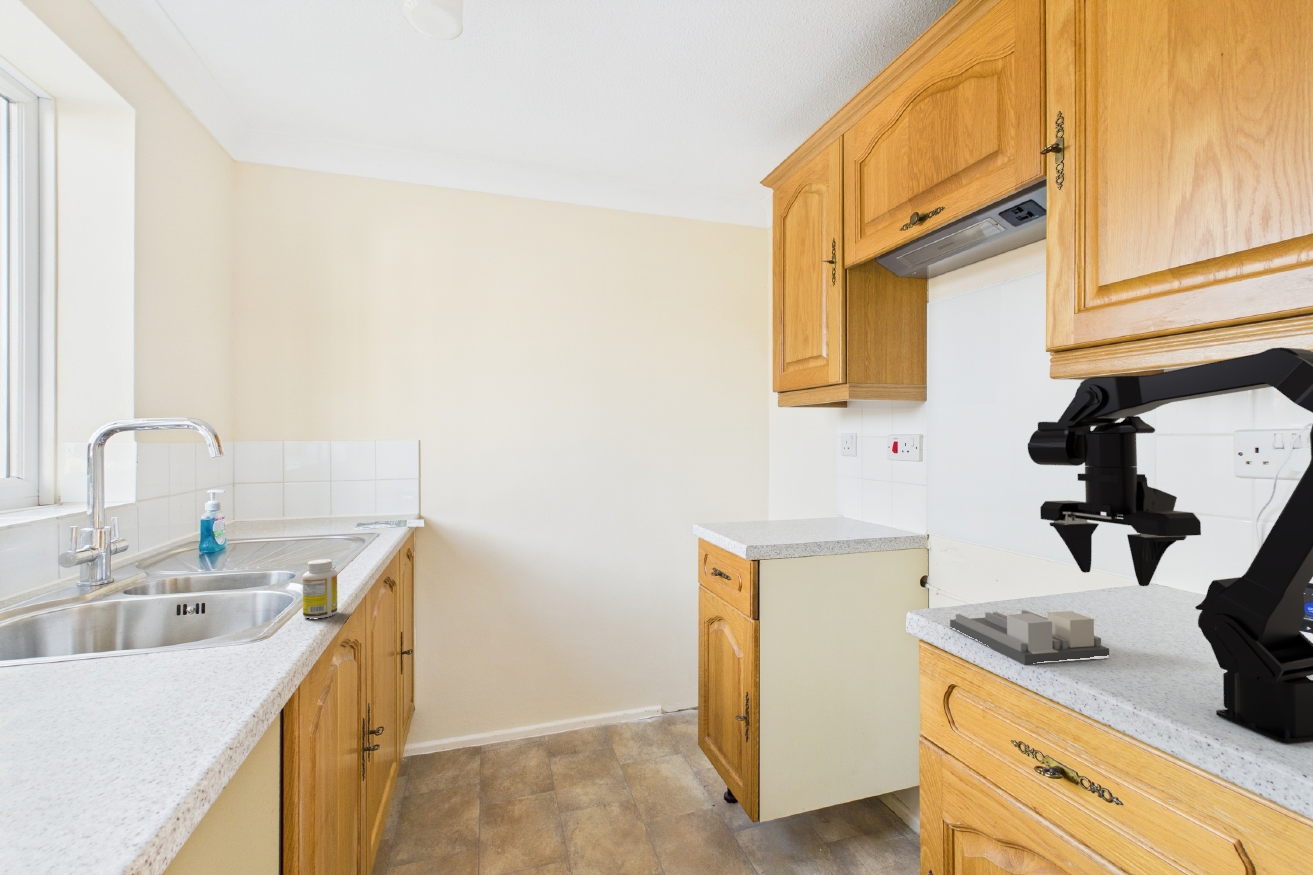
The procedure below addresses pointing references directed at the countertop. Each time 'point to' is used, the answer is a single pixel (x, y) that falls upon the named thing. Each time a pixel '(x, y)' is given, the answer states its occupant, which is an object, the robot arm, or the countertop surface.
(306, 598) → the supplement bottle
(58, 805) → the countertop surface
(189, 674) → the countertop surface
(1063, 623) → the beige cube
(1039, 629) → the light grey cube
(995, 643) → the switch board
